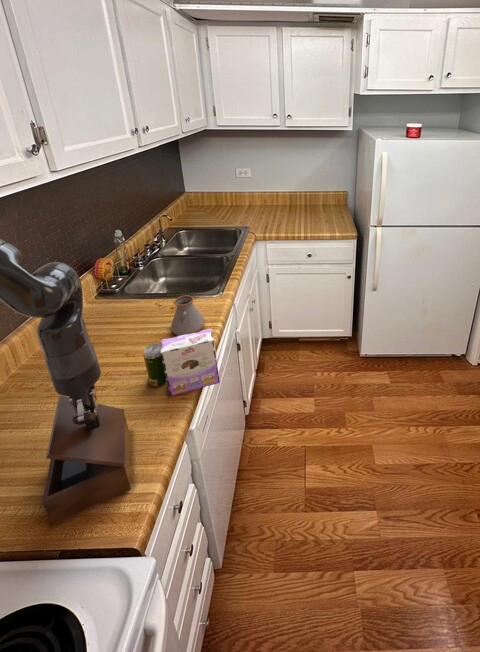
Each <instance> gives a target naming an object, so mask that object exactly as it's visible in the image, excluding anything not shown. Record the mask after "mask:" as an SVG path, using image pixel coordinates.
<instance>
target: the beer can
mask: <svg viewBox="0 0 480 652" xmlns="http://www.w3.org/2000/svg"><path fill="white" fill-rule="evenodd" d="M143 360H144V364H145V365H144V366H145V368H146V373H147V378H148V381H149V384H150V386H151V387H153V388H154V387H155V388H156V387H162V386H163V385H166V384H167V380H166V375H165V371H164V366H163V362H162V357H161V343H152V344H149V345H147V346H145V348H144V350H143Z"/></svg>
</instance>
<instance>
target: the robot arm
mask: <svg viewBox="0 0 480 652" xmlns="http://www.w3.org/2000/svg"><path fill="white" fill-rule="evenodd" d="M23 256H24V255H23V252H22V251H21V250H20V249H19V248H18V247H16V246H15V245H12V244H10V243H9V242H7V241H4V240H3V239H1V238H0V301H1V302H2V303H3V304H5V305H6V306H7V307H8V308H10V309H11V310H13V311H14V312H16V313H17V314H19V315H22V316H25V317H28V318H35V319H40V321H39V322H38V324H37V326H36V336H37V340H38V343H39V346H40V347H41V348H40V349H41V351H42V353H43V358H44V363H45V367H46V369H47V373H48V374H49V377H50V380H51V383H52V385H53V388H54V390H55V392H56V394H58V395H60V396H65V397H69V402H70V404H71V405H72V406H73V407H74V410H75V412H76V415H75V416H74V417H73V423H74V424H77V425H83V424H86V427H87V430H88V431H91V430H94V429H96V428H99V427H100V418H99V415H98V412H97V407H98V405H97V404H98V403H97V401H98V393H97V389H96V383H97V382H98V381H99V379H100V377H101V375H102V371H101V370H102V369H101V365H100V363H99V360H98V357H97V353H96V350H95V347H94V344H93V342H92V340H91V338H90V335H89V332H88V329H87V326H86V323H85V320H84V301H83V300H84V299H83V298H84V297H83V295H84V294H83V285H82V281H81V278H80V276H79V274H78V273H77V271H76V270H75V269H74V268H73V267H72V266H70V265H68V264H67V263H65V262H61V261H60V262H59V261H55V262H48V263H46V264H44V265H42V266H40V267H39V268H37V269H36V270H35V271H34V272H32V273H29V271H27V270H26V269H25V268H24V267H23V266H21V265H20V264H21V262H22V260H23Z"/></svg>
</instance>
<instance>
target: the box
mask: <svg viewBox="0 0 480 652" xmlns="http://www.w3.org/2000/svg"><path fill="white" fill-rule="evenodd" d="M124 419H125V464H124V466H123V467H119V466H111V465H102V464H93V463H92V478H89V479H87V480H85V481H82V482H80V483H78V484H75V485H73V486H71V487H68V488H66V489H64V487H63V484H62V482H61V477H62V470H63V463H64V462H65V461H66V460H57V459H49V466H48V471H47V476H46V480H45V486H44V491H43V496H42V501H41V503H42V505H43V507H44V509H45V511H46V514H47V515H48V517H49V520H50V522H51V524H52V526H54V525H56V524H59V523H60V522H63V521H64V520H67V519H69V518H71V517H74V516H75V515H78V514H80V513H82V512H84V511H86V510H88V509H90V508H93V507H96V506H97V505H99V504H102V503H104V502H106V501H109V500H110V499H112V498H115V497H116V496H119V495H121V494H123V493H125V492H127V491H130V490H131V489H132V475H131V474H132V468H131V434H130V433H131V432H130V430H129V425H128V422H127V418H126V415H125V414H124Z"/></svg>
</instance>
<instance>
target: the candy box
mask: <svg viewBox="0 0 480 652" xmlns="http://www.w3.org/2000/svg"><path fill="white" fill-rule="evenodd" d="M214 339H215V338H214V333H213V329H212V328H208V329H204V330H200V331H199V332H195V333H190V334H186V335H181V336H178V335H176V336H173V337H168V338H164V339H163V338H162V339H161V343H160V344H161V357H162V362H163V366H164V371H165V375H166V380H167V382H166V384H167V388H168V394H169V396H170V397H171V396H175V395H176V396H177V395H180V394H184V393H187V392H191V391H195V390H199V389H203V388H206V387H209V386H214V385H218V384H220V381H221V380H220V373H219V366H218V365H219V364H218V359H217V350H216V344H215V340H214Z"/></svg>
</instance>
